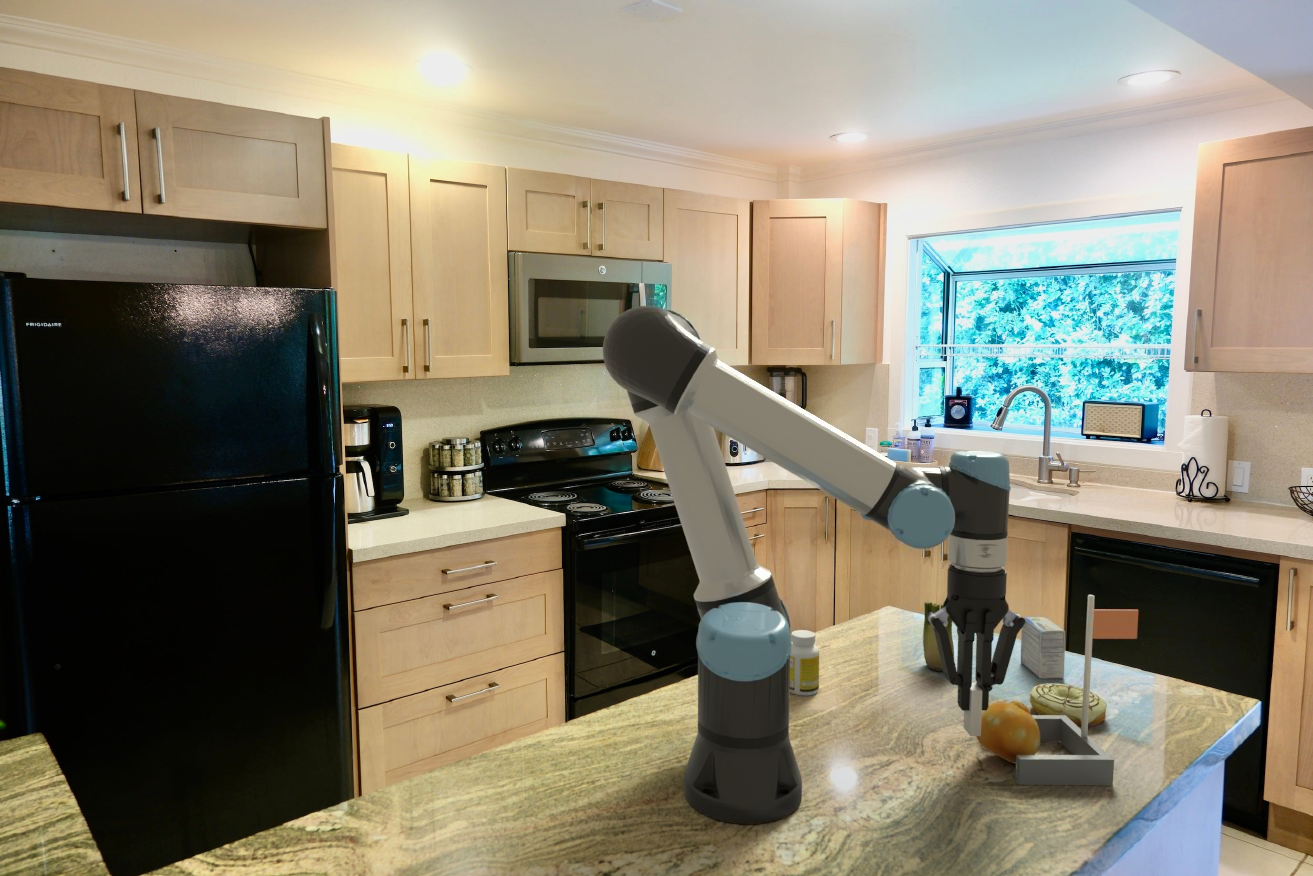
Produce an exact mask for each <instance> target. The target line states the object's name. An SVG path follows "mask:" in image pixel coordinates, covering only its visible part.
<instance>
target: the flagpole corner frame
mask: <svg viewBox="0 0 1313 876" xmlns="http://www.w3.org/2000/svg"><path fill="white" fill-rule="evenodd" d="M1138 623H1139V609H1095V595H1093V594H1088V595H1087V609H1086V624H1085V626H1086V628H1085V647H1084V666H1083V667H1084V668H1083V669H1084V670H1083V686H1082V687H1083V704H1082V723H1081V726H1079V725H1076V724H1075V723H1073V722H1072V721H1071V720H1070V719H1069V718H1068V717H1067V716H1066V715H1039V714H1037V715H1036V714H1035V715H1034V714H1031V716H1032V717H1033V718H1034V719H1035V721H1036V722H1037V725H1038V727H1039V731H1040V743H1041V741H1042V743H1046V742H1047V743H1060V744H1062V745H1063V746H1064V748H1065V749H1066V750H1067V751H1068V752H1070V753H1071V754H1061V755H1060V754H1035V755H1016V763H1015V778H1014V779H1015V781H1016V783H1017V784H1018V785H1019V786H1022V785H1023V786H1024V785H1025V786H1030V785H1031V786H1033V785H1035V786H1114V774H1115V773H1114V770H1115V769H1114V768H1115V759H1114V758H1113V757H1112V756H1111V755H1110V754H1108V753H1107V752H1106V751H1105V750H1104V749H1103V748H1102V747H1101V746H1100V745H1099V744H1098V743H1096V742H1095V741H1094V739H1092V738H1091V737H1090V736H1089V735H1088V734H1089V733H1088V731H1089V729H1088V728H1089V726H1088V714H1089V695H1090V692H1091V690H1090V689H1091V674H1092V657H1093V653H1092V652H1093V651H1092V650H1093V639H1095V640H1096V639H1097V640H1098V639H1099V640H1101V639H1102V640H1106V639H1107V640H1108V639H1109V640H1111V639H1113V640H1119V639H1121V640H1129V639H1130V640H1135V639H1136V640H1137V639H1138V627H1139V624H1138ZM1043 741H1044V742H1043Z"/></svg>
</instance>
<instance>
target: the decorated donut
mask: <svg viewBox="0 0 1313 876" xmlns="http://www.w3.org/2000/svg"><path fill="white" fill-rule="evenodd" d="M1029 703H1030V705H1031V706H1032V708H1033V710H1034V711H1035V712H1036V713H1037V715H1066V716H1067V717H1068V718H1069V719H1070V720H1071V721H1072V722H1073V723H1075V724H1076V725H1077V726H1080V725H1081V723H1082V704H1083V688H1082V687H1078V686H1074V685H1070V684H1066V683H1061V682H1060V683H1059V682H1058V683H1057V682H1054V683H1053V682H1052V683H1051V682H1047V683H1040V684H1038V685H1036V686H1035V685H1034V686H1033V687H1032V689H1031V691H1030V695H1029ZM1107 706H1108V704H1107V702H1106V700H1105V699H1104V698H1102V697H1101V696H1099V695H1098V694H1096V693H1093V692H1091V691H1090V695H1089V714H1088V727H1092V726H1096V725H1098V724H1101V722H1104V720H1105V719H1106V716H1107V715H1106V714H1107Z"/></svg>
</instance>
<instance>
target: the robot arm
mask: <svg viewBox="0 0 1313 876" xmlns="http://www.w3.org/2000/svg"><path fill="white" fill-rule="evenodd" d="M602 357H603V362H604V365H605V368H606V370H607V373H608V374H609V376H610V377H611V378H612V380H613V381H614V382H615V383H617V384H618V386H620V387H621V388H622V389H624V390H626V393H627V396H628V398H629V401H630V405H631V408H632V410H633V414H634V416H635V417H637V418H639V419H641V420H643V421H644V422H646V423H647V424H648V425H649V428H650V432H651V435H652V438H653V441H654V443H655V447H656V449H657V453H658V455H659V460H660V462H661V465H662V469H663V472H664V474H665V478H666V482H667V484H668V487H669V490H670V493H671V497H672V499H673V502H674V506H675V508H676V511H677V515H678V518H679V521H680V525H681V527H682V530H683V533H684V536H685V539H686V542H687V546H688V550H689V551H690V554H691V559H692V561H693V564H694V567H695V571H696V574H697V576H698V579H699V583H698V585H697V587H696V589H695V591H694V593H693V599H694V602H695V604H696V607H697V612H698V615H699V617H700V622H699V624H698V630H697V631H698V632H697V635H696V639H695V641H696V642H695V645H696V650H697V733H696V736H695V739H694V742H693V746H692V749H691V751H690V755H689V757H688V761H687V763H686V766H685V769H684V775H683V792H684V797H685V798H686V801H687V802H688V803H689V805H690V806H691V807H693V808H694V809H695V810H696V811H698V812H700V813H701V814H703V815H705V816H706V817H709V818H712V819H715V820H719V821H721V822H726V823H732V824H741V825H742V824H743V825H757V824H758V825H759V824H764V823H770V822H774V821H777V820H780V819H783V818H785V817H787V816H789V815H791V814H792V813H794V811H796V810H797V809H798V807H799V806H800V804H801V802H802V798H803V779H802V774H801V772H800V769H799V765H798V763H797V758H796V755H795V753H794V749H793V746H792V743H791V740H790V731H789V729H790V728H789V727H790V723H789V722H790V692H789V682H790V653H791V646H792V642H791V620H790V616H789V612H788V610H787V607H786V605H785V604H784V602H783V600H782V599H781V598H780V596H779V592H778V590H777V588H776V584H775V581H774V578H773V573H771V571H770V569H768V568H766V567H764V566H762V565H761V564H759V563H758V562H757V559H756V556H755V553H754V550H753V546H752V544H751V540H750V537H749V534H748V531H747V527H746V525H745V521H744V519H743V516H742V512H741V509H740V506H739V503H738V500H737V496H736V494H735V490H734V488H733V484H732V481H731V478H730V476H729V472H728V469H727V465H726V463H725V460H724V459H725V458H724V456H723V454H722V449H721V447H720V444H719V441H718V438H717V434H716V432H715V430H717V431H719V432H721V433H722V434H724V435H725V436H727V437H729V438H730V439H733V440H734V441H736V442H737V443H740V444H741V445H743V446H744V447H746V448H748V449H750V450H751V451H753V452H755V453H756V454H758V455H760V456H762V457H763V458H765V459H767V460H769V461H771V462H772V463H774V464H775V465H777V466H778V467H781V468H782V469H784V470H786V471H787V472H789V473H791V474H793V475H794V476H796V477H797V478H800V479H802V480H803V481H805V482H806V483H807V484H810V485H812V486H813V487H815V488H817V489H819V490H820V491H822V492H824V493H825V494H827V495H829V496H831V497H832V498H834V499H836V500H838V501H839V502H841V503H843V504H844V505H846V506H848V507H850V508H851V509H853V510H854V511H857V513H860V516H861V517H862V519H864V520H866V521H873V522H874V523H875V524H877V525H879V526H881V527H883V528H884V529H886V530H888V531H890V532H891V534H893V536H894V537H895V538H896V539H897V540H898V541H900V542H901V543H903V544H904V545H906V546H909V547H910V548H914V549H919V550H920V549H921V550H922V549H923V550H925V549H931V548H935V547H937V546H939V545H940V544H942V543H944V542H945V541H946V539H948V545H947V546H948V547H947V560H948V561H949V562H950V564H949V565H948V566H947V577H946V578H947V579H946V580H947V581H946V582H947V584H946V585H947V586H946V592H947V593H946V597H945V600H944V601H943V603H944V604H943V608H942V609H940V610H939V611H937V612H936V613H932V612H930V613H928V614H927V619H928V621H929V622H930V624H931V625H932V627H933V628H934V632H935V637H936V641H937V646H938V650H939V654H940V659H941V663H942V668H943V671H942V672H943V677H945V679H946V680H947V681H948V682H949V683H950V684H951V685H953V686H957V705H958V707H959V708H960V710H961V711H963V726H962V727H963V728H964V730H965V731H966V733H967V734H968V735H969V737H976V736H981V718H982V710H987V709H988V706H989V705H990V702H989V700H990V699H989V697H990V695H989V694H990V692H991V691H992V690H993V686H995V685H998V686H1000V685H1002V684H1004V681H1005V678H1006V676H1007V671H1008V669H1009V665H1010V661H1011V659H1012V658H1011V657H1012V654H1013V651H1014V648H1015V644H1016V641H1017V637H1018V634H1019V633H1020V631H1022V627H1023V626H1024V624H1025V619H1024V618H1025V617H1023V616H1022V615H1020V614H1019V613H1017V612H1016V611H1012V610H1010V607H1009V603H1008V602H1007V599H1006V595H1007V581H1008V580H1007V575H1008V574H1007V573H1008V571H1007V570H1006V568H1004V567H1005V566H1006V565H1007V564H1008V544H1009V543H1008V541H1009V540H1008V538H1009V537H1008V534H1009V533H1008V527H1009V509H1010V506H1009V505H1010V492H1011V489H1012V488H1011V485H1010V484H1011V481H1010V480H1011V478H1010V461H1009V459H1008V458H1007V457H1006V456H1005V455H1004V454H1002V453H1000V452H993V451H985V450H968V451H967V450H966V451H963V450H962V451H956V452H953V453H952V454H951V456H950V461H949V462H948V465H944V466H933V467H932V466H901V465H899V464H898V463H896V462H894V461H893V460H891V459H890V458H888V457H886V456H884V455H883V454H881V453H879V452H877V451H875V450H874V449H873V448H871V447H869V446H868V445H865V444H864V443H861V442H860V441H858V440H857V439H855V438H853V437H851V436H850V435H849V434H847V433H844V431H841V430H840V429H837V428H836V427H834V426H833V425H831V424H829V423H828V422H826V421H824V420H822V419H821V418H819V417H817V416H816V415H814V414H812V413H810V412H809V411H807V410H805V409H803V408H801V407H800V406H798V405H797V404H795V403H793V402H791V401H789V400H788V399H786V398H785V397H783V396H782V395H779V394H778V393H776V392H775V391H772V390H770V388H767V387H765V386H763V385H762V384H760V383H759V382H756V381H755V380H753V379H751V378H750V377H748V376H746V375H745V374H743V373H741V372H739V371H738V370H736V369H734V368H733V367H731V366H729V365H727V364H726V363H725V362H722V361H721V360H720V359H719V357H718V355H717V351H716V348H714V347H713V346H711V345H709V344H707V343H706V342H704V341H702V339H701V336H700V334H699V332H698V331H697V329H695V326H694V325H693V324H692V323H691V322H690V321H689V320H688V318H686V317H684V316H683V315H682V314H680V313H678V312H676V311H673V310H670V309H664V308H663V307H662V308H661V307H657V306H654V305H640V306H636V307H632V308H630V309H627V310H626V311H624V312H622V313H620V314H619V315H618V316H617V317H616V318H615V319H614V320H613V321H612V323H611V324H610V325H609V326H608V328H607V330H606V333H605V335H604V339H603V344H602ZM948 616H949V617H950V618H951V620H952V624H954V625H955V627H956V634H957V655H956V656H957V662H956V663H955V656H954V657H953V653H952V648H951V644H950V639H949V635H948V632H947V630H946V628H945V627H946V626H947V625H948V621H947V618H948ZM1001 621H1002V626H1001V628H1000V631H999V634H998V638H997V641H996V645H995V649H994V652H993V648H992V647H993V641H994V637H995V636H994V635H995V634H994V631H995V629H996V628H997V626H998V625H999V624H1000V623H1001ZM975 636H976V638H975ZM975 639H976V641H975ZM974 641H975V642H976V643H975V644H976V646H975V649H976V650H975V677H974V678H975V682H973V661H974V660H973V657H974V656H973V653H974ZM992 652H993V653H992ZM992 654H993V656H992ZM956 665H957V666H956Z"/></svg>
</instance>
